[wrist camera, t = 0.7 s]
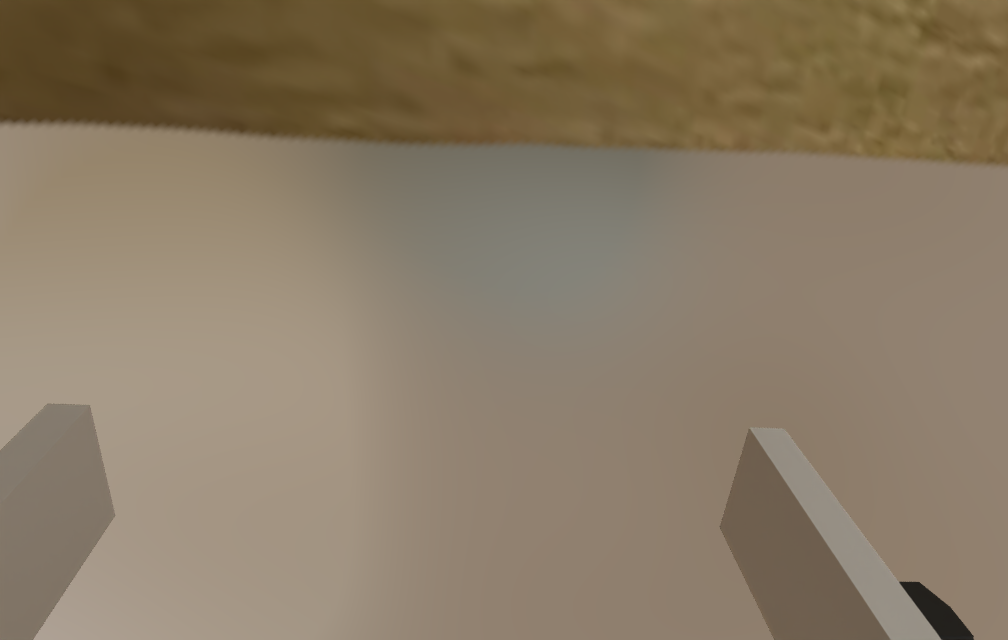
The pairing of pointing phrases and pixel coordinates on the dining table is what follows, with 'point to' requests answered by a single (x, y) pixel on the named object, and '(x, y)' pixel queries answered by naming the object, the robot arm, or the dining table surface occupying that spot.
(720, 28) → the dining table surface
